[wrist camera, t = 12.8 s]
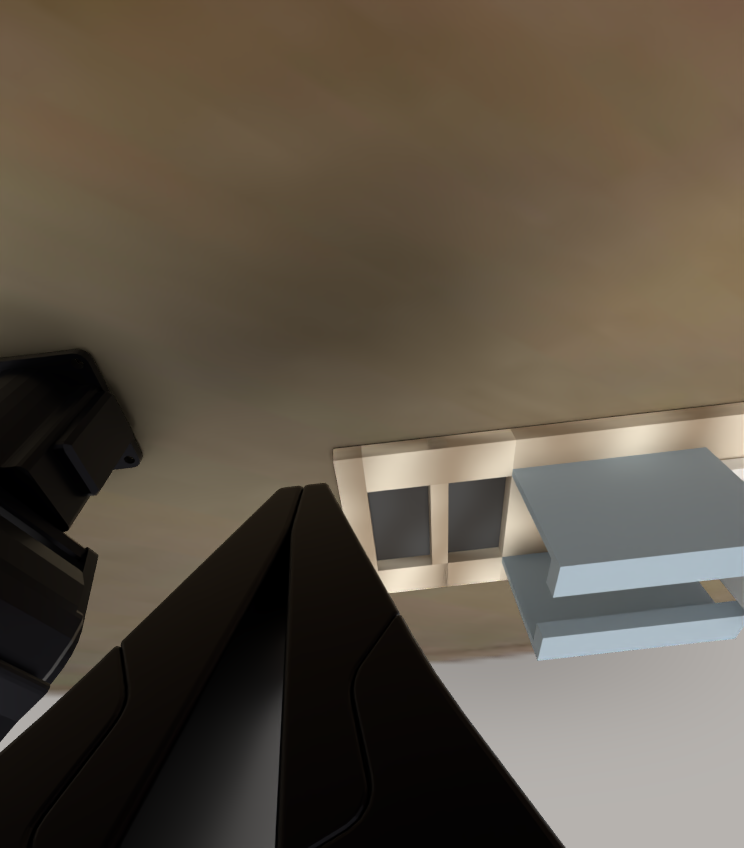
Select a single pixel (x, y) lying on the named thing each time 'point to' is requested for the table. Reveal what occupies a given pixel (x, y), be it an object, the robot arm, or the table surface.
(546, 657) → the light blue blocks
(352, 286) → the table surface
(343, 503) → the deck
